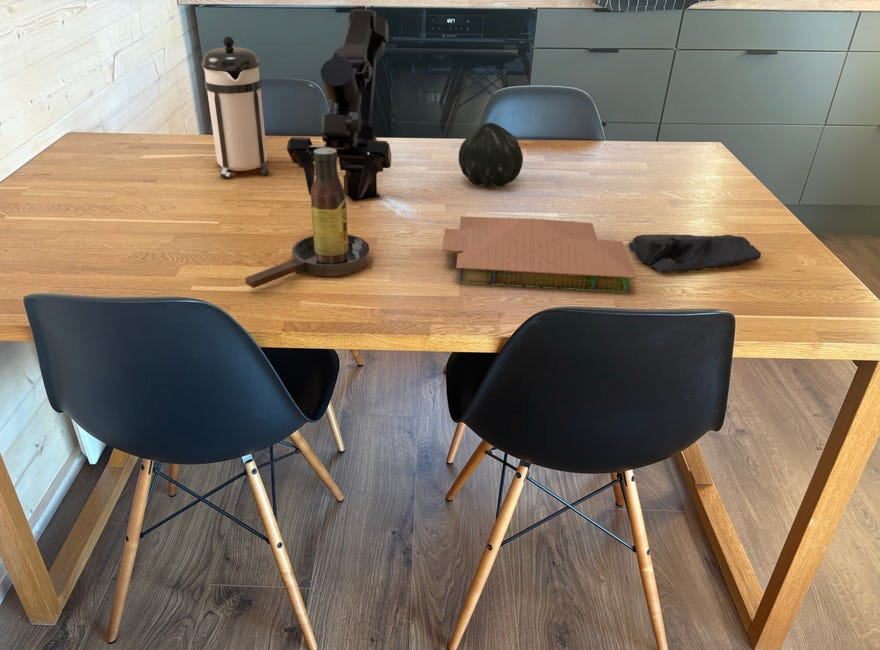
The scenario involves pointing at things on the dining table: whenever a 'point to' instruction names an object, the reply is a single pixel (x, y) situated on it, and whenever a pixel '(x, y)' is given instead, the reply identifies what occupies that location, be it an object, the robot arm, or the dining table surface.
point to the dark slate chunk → (692, 251)
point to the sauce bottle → (328, 209)
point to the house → (537, 249)
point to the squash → (490, 156)
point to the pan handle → (276, 273)
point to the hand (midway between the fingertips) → (335, 195)
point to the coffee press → (236, 108)
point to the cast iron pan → (353, 263)
